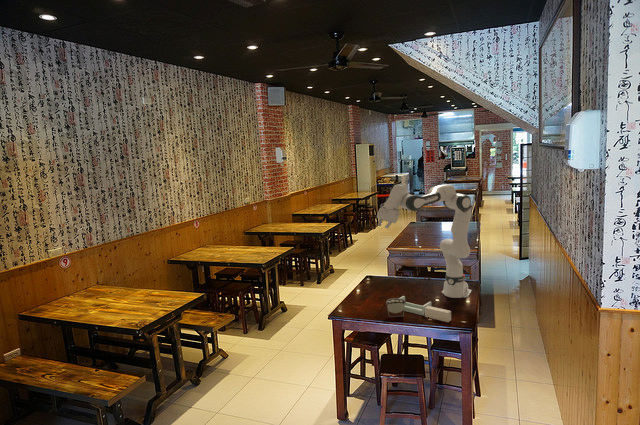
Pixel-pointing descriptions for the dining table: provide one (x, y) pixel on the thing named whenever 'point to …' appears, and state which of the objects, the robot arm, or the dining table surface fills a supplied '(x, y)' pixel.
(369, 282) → the dining table surface
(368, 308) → the dining table surface
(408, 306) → the grey elongated piece
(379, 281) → the dining table surface
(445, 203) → the robot arm
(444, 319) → the clay strip
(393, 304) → the food container
